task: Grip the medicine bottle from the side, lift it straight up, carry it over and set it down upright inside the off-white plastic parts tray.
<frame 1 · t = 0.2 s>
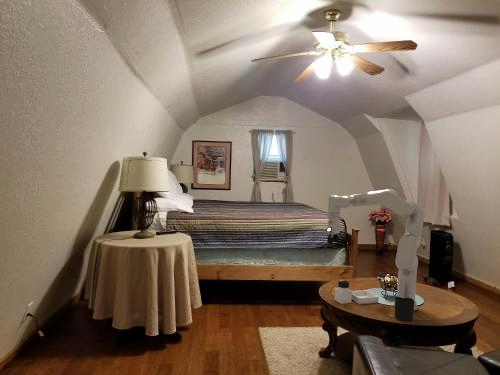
hand: (332, 242, 240), 31 cm above the table, tool pointing down, fingers open, 9 cm apart
pen holder: (403, 318, 200), on the table
parts tray: (362, 299, 226), on the table
medicine bottle: (342, 301, 223), on the table
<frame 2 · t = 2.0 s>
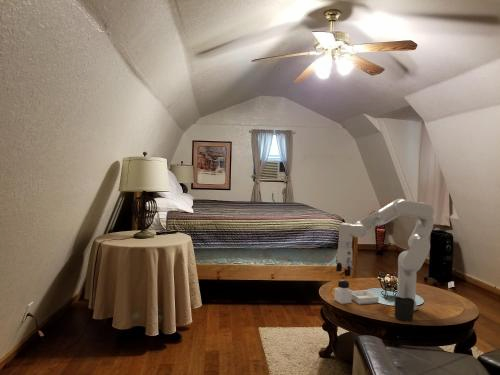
hand: (343, 273, 222), 16 cm above the table, tool pointing down, fingers open, 9 cm apart
nothing on the table moved.
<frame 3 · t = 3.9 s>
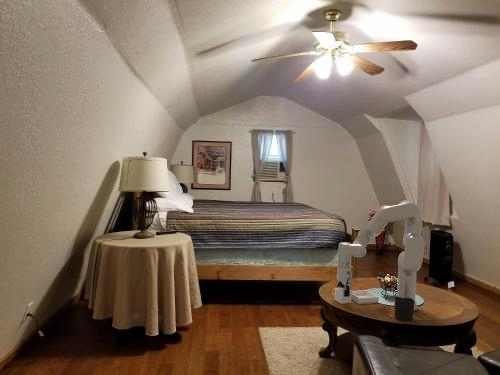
hand: (343, 293, 223), 4 cm above the table, tool pointing down, fingers closed on medicine bottle, 7 cm apart
medicine bottle: (342, 301, 223), on the table, touching gripper
everything else where it was.
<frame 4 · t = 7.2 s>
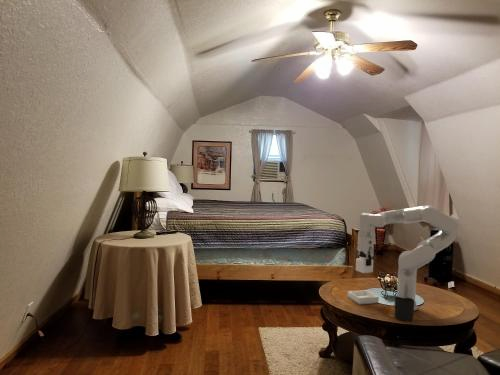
hand: (364, 263, 225), 22 cm above the table, tool pointing down, fingers closed on medicine bottle, 7 cm apart
medicine bottle: (364, 271, 225), point 17 cm above the table, touching gripper
everything else where it was.
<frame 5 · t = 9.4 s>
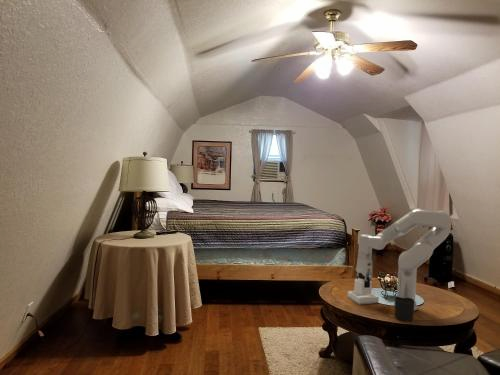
hand: (363, 285, 226), 9 cm above the table, tool pointing down, fingers closed on medicine bottle, 7 cm apart
medicine bottle: (362, 292, 226), point 4 cm above the table, touching gripper
everything else where it was.
when the fingers open (7 cm above the table, at t = 10.9 s): medicine bottle drops 1 cm, resting on parts tray.
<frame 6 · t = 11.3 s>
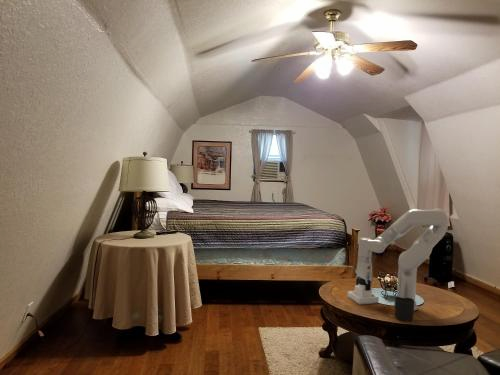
hand: (363, 287, 226), 7 cm above the table, tool pointing down, fingers open, 9 cm apart
medicine bottle: (362, 298, 226), point 1 cm above the table, touching parts tray
everything else where it was.
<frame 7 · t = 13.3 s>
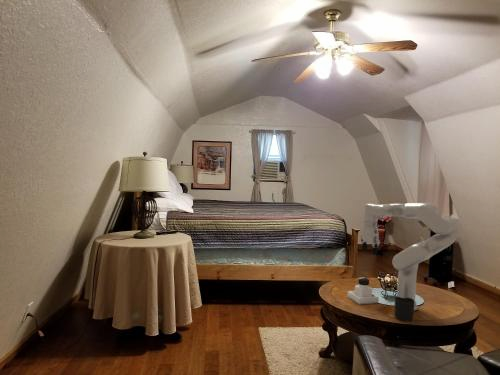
hand: (369, 252, 232), 27 cm above the table, tool pointing down, fingers open, 9 cm apart
nothing on the table moved.
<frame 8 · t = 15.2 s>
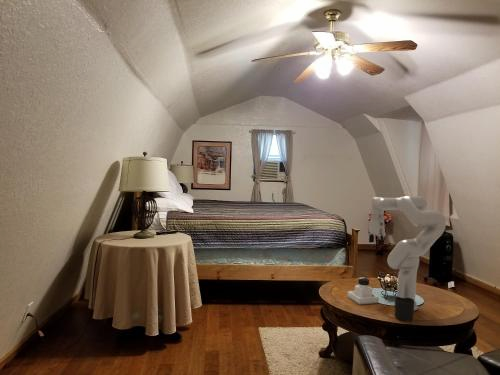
hand: (375, 243, 242), 30 cm above the table, tool pointing down, fingers open, 9 cm apart
nothing on the table moved.
at the end: medicine bottle inside the target area on the parts tray (0.1 cm from its centre), point 0.6 cm above the parts tray's base; medicine bottle tilted 0°; the gripper is holding nothing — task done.
